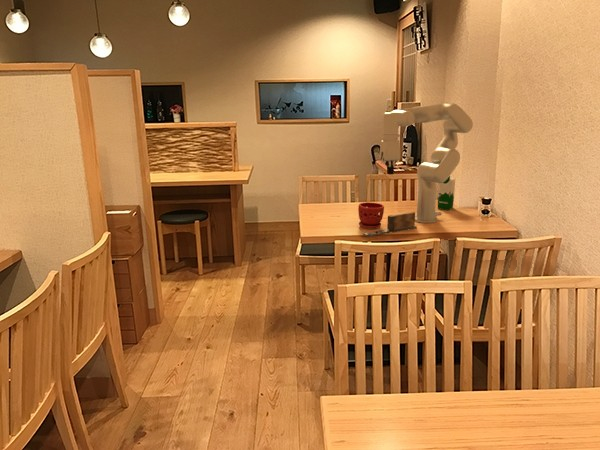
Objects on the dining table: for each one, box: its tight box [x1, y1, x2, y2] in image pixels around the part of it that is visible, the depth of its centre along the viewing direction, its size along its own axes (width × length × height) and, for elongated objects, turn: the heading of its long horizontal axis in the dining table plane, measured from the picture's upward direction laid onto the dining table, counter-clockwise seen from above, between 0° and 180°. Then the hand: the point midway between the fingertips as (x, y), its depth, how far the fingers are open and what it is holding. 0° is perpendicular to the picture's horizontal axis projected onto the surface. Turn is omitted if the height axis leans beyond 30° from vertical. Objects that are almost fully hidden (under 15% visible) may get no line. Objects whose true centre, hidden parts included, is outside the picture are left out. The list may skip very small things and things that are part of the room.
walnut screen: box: [386, 211, 416, 230], centre depth 253 cm, size 16×2×7 cm, turn 117°
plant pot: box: [358, 201, 385, 230], centre depth 259 cm, size 13×13×12 cm
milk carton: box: [437, 175, 456, 211], centre depth 294 cm, size 9×9×20 cm
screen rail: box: [363, 225, 418, 238], centre depth 252 cm, size 31×3×1 cm, turn 117°
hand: (390, 173), depth 252 cm, fingers closed
